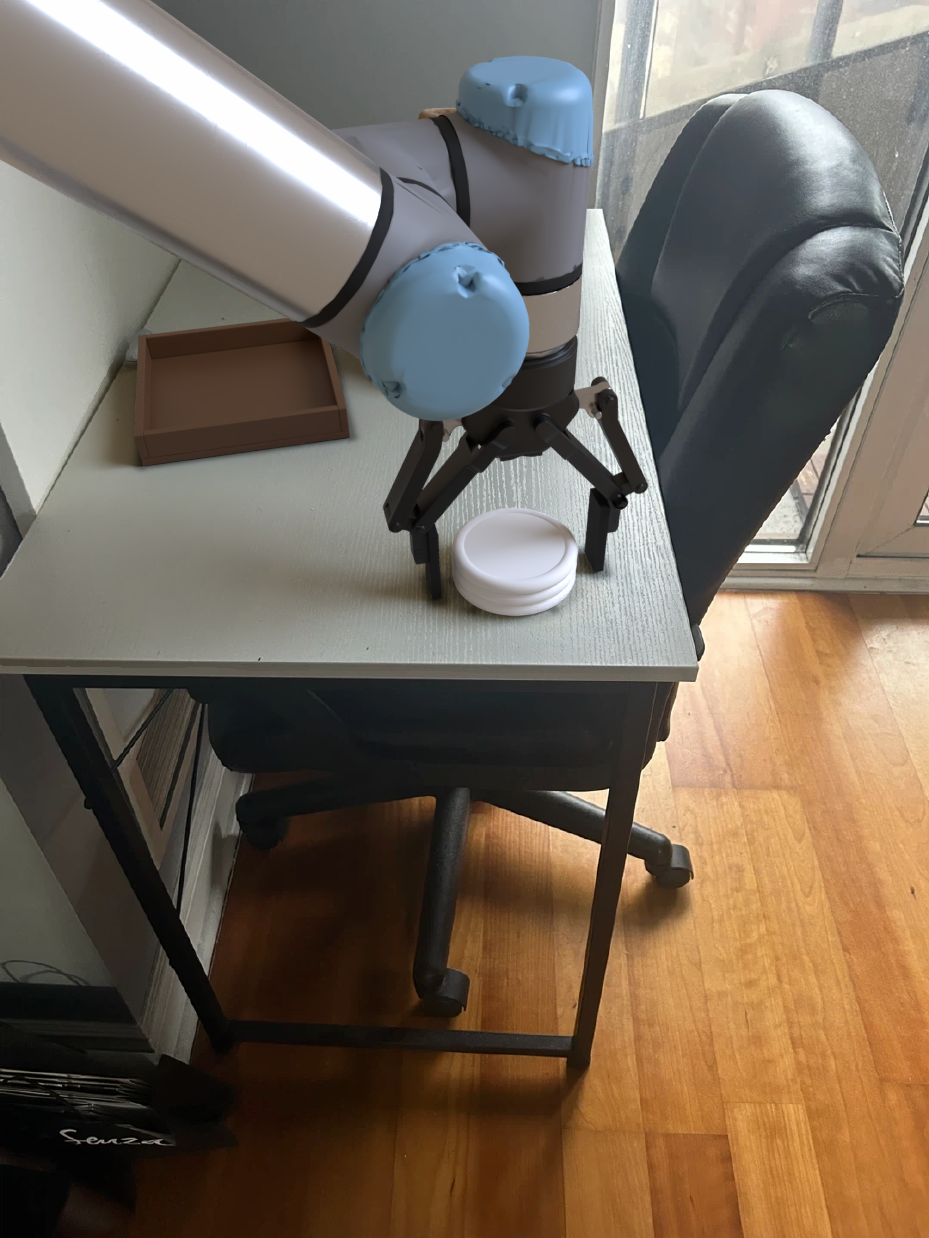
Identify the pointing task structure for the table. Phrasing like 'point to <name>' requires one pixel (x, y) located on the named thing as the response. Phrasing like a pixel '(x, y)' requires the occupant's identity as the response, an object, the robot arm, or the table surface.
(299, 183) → the robot arm
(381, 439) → the table surface
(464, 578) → the coaster
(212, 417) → the holder
